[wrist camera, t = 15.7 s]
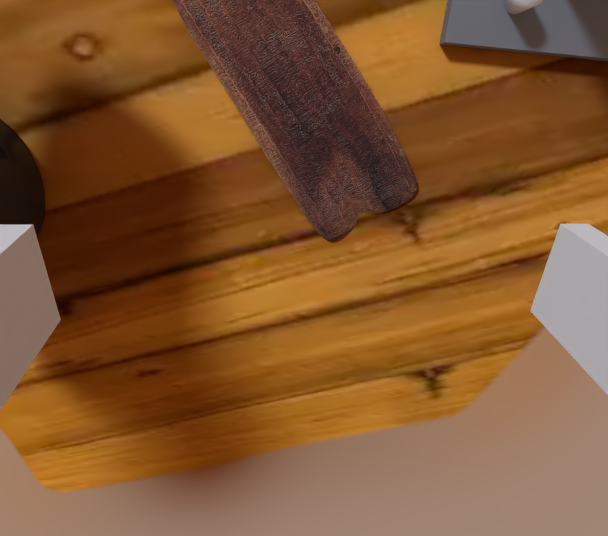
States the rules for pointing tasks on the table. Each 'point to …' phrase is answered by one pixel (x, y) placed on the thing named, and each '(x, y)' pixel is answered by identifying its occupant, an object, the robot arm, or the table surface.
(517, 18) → the peg plinth
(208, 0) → the wooden tablet
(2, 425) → the table surface
